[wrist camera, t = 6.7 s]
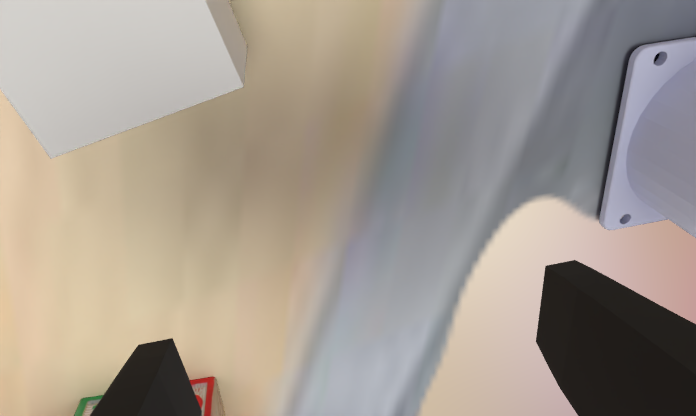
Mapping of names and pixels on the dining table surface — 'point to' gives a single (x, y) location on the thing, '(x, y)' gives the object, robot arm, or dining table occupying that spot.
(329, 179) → the dining table surface
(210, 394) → the stack of blocks
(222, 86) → the grey cube
